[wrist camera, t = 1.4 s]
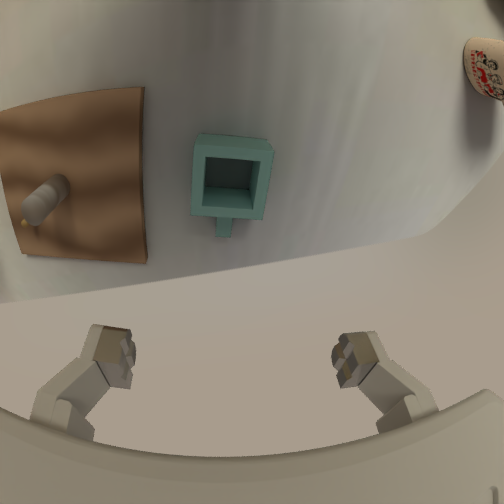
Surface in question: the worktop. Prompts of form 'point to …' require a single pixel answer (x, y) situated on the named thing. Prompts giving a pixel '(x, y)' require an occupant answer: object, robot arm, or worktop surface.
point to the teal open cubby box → (229, 199)
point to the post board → (76, 175)
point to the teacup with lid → (485, 66)
